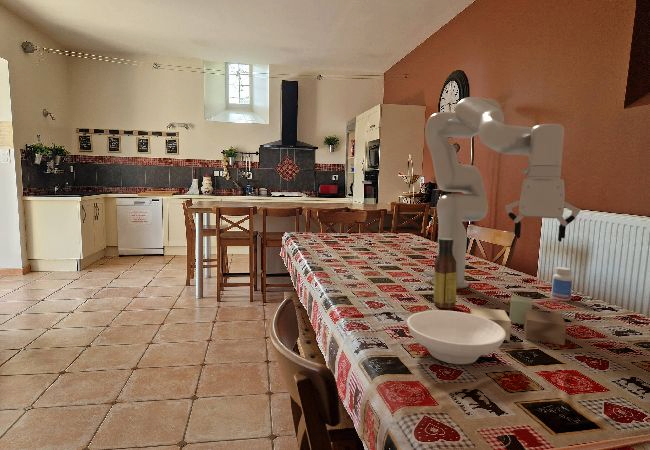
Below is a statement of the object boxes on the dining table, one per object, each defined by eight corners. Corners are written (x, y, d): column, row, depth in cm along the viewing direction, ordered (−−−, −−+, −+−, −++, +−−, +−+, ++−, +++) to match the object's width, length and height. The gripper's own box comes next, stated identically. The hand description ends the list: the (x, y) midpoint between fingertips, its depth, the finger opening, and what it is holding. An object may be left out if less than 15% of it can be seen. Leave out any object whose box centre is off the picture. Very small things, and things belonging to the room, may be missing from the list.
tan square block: (525, 340, 97) (527, 319, 96) (523, 328, 104) (525, 309, 104) (564, 346, 94) (566, 325, 93) (559, 334, 101) (561, 314, 101)
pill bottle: (573, 301, 127) (576, 270, 126) (554, 300, 128) (557, 269, 127) (566, 296, 133) (569, 267, 132) (548, 295, 134) (551, 265, 133)
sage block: (509, 322, 108) (510, 300, 107) (509, 316, 113) (511, 295, 112) (530, 325, 106) (532, 303, 105) (529, 319, 111) (531, 298, 110)
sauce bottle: (455, 304, 122) (460, 237, 120) (455, 310, 116) (459, 241, 114) (433, 301, 124) (436, 236, 122) (431, 307, 118) (435, 239, 116)
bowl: (446, 388, 74) (448, 351, 73) (387, 345, 92) (389, 315, 91) (525, 369, 82) (528, 336, 81) (457, 333, 99) (459, 306, 99)
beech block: (473, 338, 97) (474, 317, 97) (469, 326, 105) (470, 307, 105) (509, 341, 96) (511, 321, 95) (502, 329, 103) (504, 310, 103)
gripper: (506, 172, 107) (501, 238, 109) (584, 173, 99) (578, 244, 101) (508, 173, 114) (504, 234, 116) (582, 174, 106) (576, 240, 108)
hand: (538, 239), depth 108 cm, fingers open, 9 cm apart
